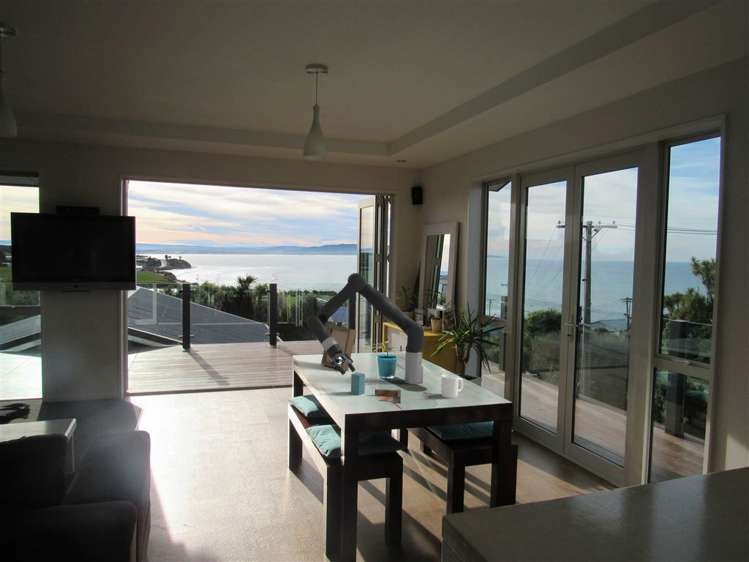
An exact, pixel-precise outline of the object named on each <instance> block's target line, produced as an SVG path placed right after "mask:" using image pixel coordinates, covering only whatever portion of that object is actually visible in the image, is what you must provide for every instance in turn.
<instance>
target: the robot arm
mask: <svg viewBox="0 0 749 562" xmlns="http://www.w3.org/2000/svg"><path fill="white" fill-rule="evenodd" d="M357 293H358V294H359V295H360V296H362V297H363V298H364V299H366V300H367V302H369V304H370V305H371V306H372V307H373V308H374V309H375V310H376V311H377V312H378V313H380V314H381V315H382V316H384V317H385V318H386V319H388V320H389V321H390V322H392V323H394V324H395V325H396V326H397V327H399V328H400V330H401V331H402V332H403V333H404V334H405V335H406V336H407V340H406V345H405V356H404V357H405V358H404V359H405V361H404V383H405V384H410V385H419V384H423V383H424V382H423V381H424V378H423V377H424V365H423V348H424V343H425V342H424V341H425V330H424V327H423V326H422V324H420V323H419V322H416V321H414V320H413V319H411V318H410V317H409V316H408V315H406V314H405V313H404V312H403V311H402V310H401V308H400V307H399V305H397V303H395V302H394V301H393V300H392V299H391V298H389V297H388V296H387V295H385V294H384V293H382V292H381V291H380V290H378V289H377V288H375V287H374V286H372V285H371V283H369V282H368V281H367V279H366V277H365V276H364V275H363V274H361V273H359V272H353V273H351V274H349V276H348V278H347V283H346V284H345V286H344V287H343V288H342V289H340V290H339V291H338V293H336V294H335V295H333V296H332V297H331V298H330V299H329V300H328V301H326V303H325V304H323V306H322V307H320V308H319V313H318V314H317V315H310V316H309V317H307V320H306V324H307V327H308V328H309V330H310V331H311V332H312V333H313V334H314V335H315V337H316V338H317V340H318V342H319V344H320V345H321V347H322V348H323V351H324V350H325V351H326V353H327V354H328V356H329V357H330V359H329V361H330V363H331V365H332V366H333V367H332V368H333V369H334V370H337V371H338V372H339V373H340V374H341V375H342V376H344V375H346V372H347V371H344V369H343V368H342V367H341V364H344V365H347V366H349V368H348V369H349V370H350V371H351V373H355V371H356V367H354V365H353V363H354V360H353V359H352V357H351V358H350V356H349V355H348V354H347V353H346V354H345V355H344V354H343V353H342V349H341V347H340V346H339V344H338V343H337V342H336V340H335V339H334V338H333V337H332V335H331V334H330V333H329V331H328V329H327V328H326V327H325V325H326V324H327V323H328V321H329V319H330V318H331V317H332V316H334V314H335V313H336V312H337V311H338V310H340V308H342V306H343V305H345V303H346V302H347V301H348V300H349V299H350V298H352V297H353V296H354V295H356V294H357ZM349 360H350V361H349ZM345 361H346V362H345ZM347 362H348V363H349V364H348V363H347ZM334 364H335V365H336V366H335V365H334Z"/></svg>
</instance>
